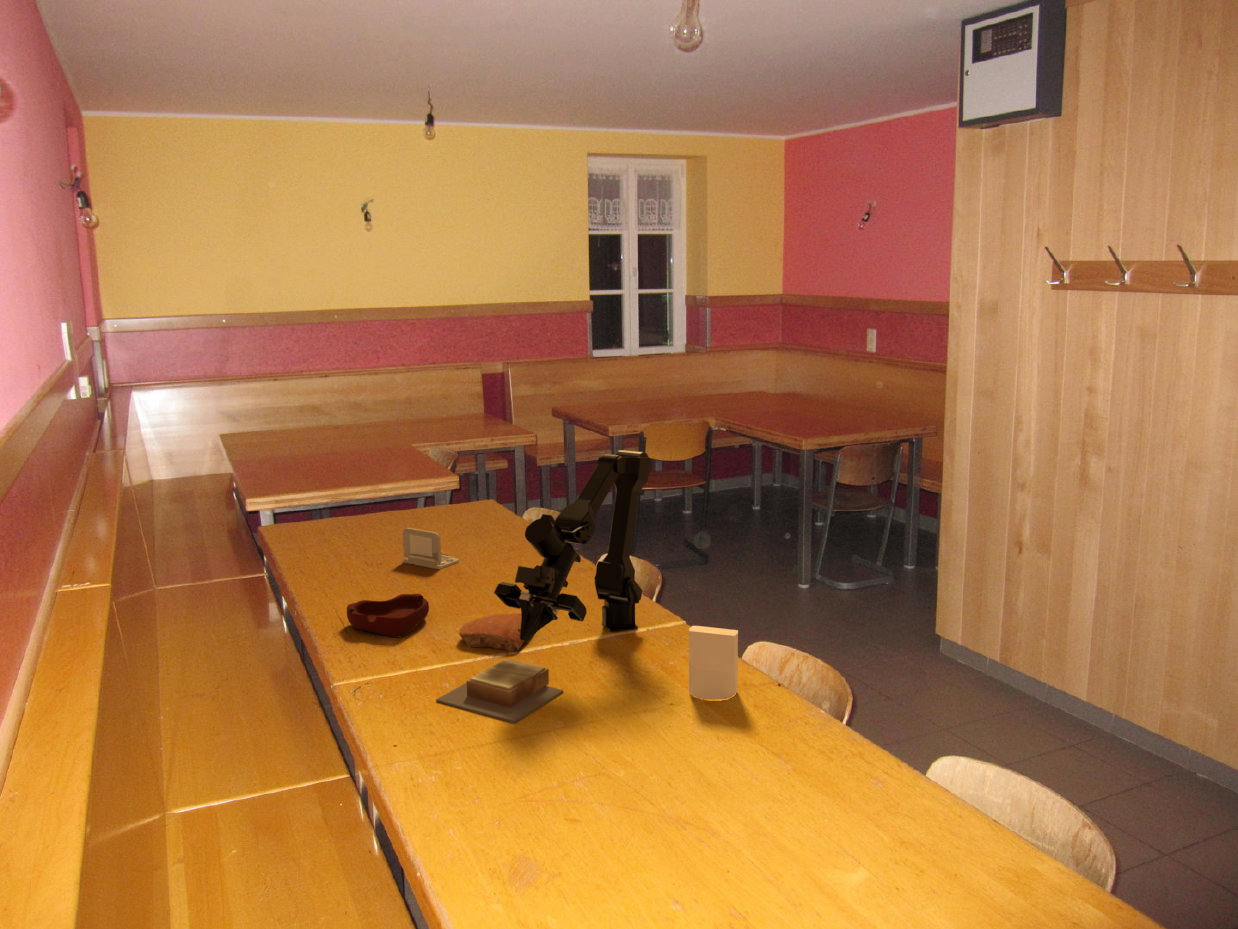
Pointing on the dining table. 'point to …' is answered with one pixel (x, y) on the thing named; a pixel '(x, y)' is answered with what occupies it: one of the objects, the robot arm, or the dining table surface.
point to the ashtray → (389, 614)
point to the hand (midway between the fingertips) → (522, 640)
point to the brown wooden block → (508, 682)
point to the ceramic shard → (494, 632)
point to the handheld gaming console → (425, 549)
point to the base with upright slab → (713, 662)
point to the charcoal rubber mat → (495, 710)
